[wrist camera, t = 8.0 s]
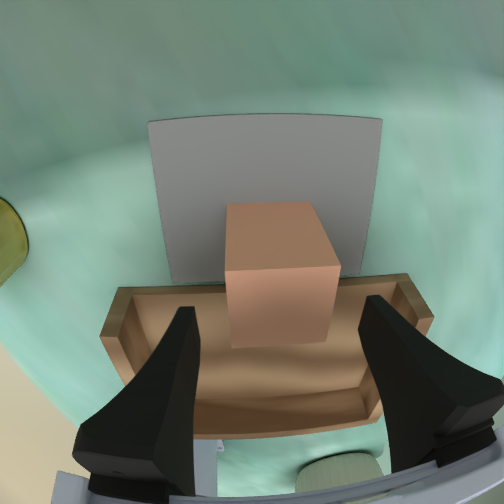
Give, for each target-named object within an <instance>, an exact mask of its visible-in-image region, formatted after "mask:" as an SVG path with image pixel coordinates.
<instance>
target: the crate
mask: <svg viewBox="0 0 504 504" xmlns="http://www.w3.org/2000/svg"><path fill="white" fill-rule="evenodd" d="M369 295H380V296H382V297H383V298H384V299H385V300H386V301H387V302H388V303H389V304H390V305H391V306H392V307H393V308H394V309H395V310H396V311H397V312H399V313H400V314H401V315H402V316H403V317H404V318H405V319H406V320H407V321H408V322H409V323H410V324H411V325H412V326H414V327H415V328H416V329H417V330H418V331H419V332H420V333H422V334H423V335H424V336H426V334H427V332H428V330H429V328H430V326H431V323H432V321H433V319H434V315H433V314H432V312H431V310H430V309H429V307H428V305H427V304H426V302H425V301H424V299H423V297H422V296H421V294H420V293H419V291H418V290H417V288H416V287H415V285H414V283H413V282H412V280H411V279H410V277H409V276H408V274H395V275H382V276H369V277H355V278H340V279H339V281H338V286H337V291H336V297H335V302H334V307H333V312H332V317H331V322H330V327H329V331H328V336H327V341H326V342H320V343H309V344H297V345H283V346H268V347H249V348H232V347H231V337H230V326H229V315H228V304H227V293H226V285H202V286H170V287H124V288H118V290H117V292H116V295H115V297H114V300H113V302H112V305H111V307H110V310H109V312H108V315H107V318H106V320H105V323H104V326H103V328H102V331H101V334H100V336H99V337H100V339H101V341H102V343H103V345H104V347H105V349H106V351H107V353H108V355H109V357H110V359H111V361H112V363H113V365H114V367H115V369H116V370H117V372H118V374H119V376H120V378H121V380H122V381H123V383H124V385H125V386H126V385H127V384H128V383H129V382H130V381H131V380H132V379H133V377H134V376H135V375H136V374H137V373H138V371H139V370H140V369H141V368H142V366H143V365H144V364H145V362H146V361H147V360H148V358H149V357H150V355H151V354H152V352H153V351H154V349H155V348H156V346H157V345H158V343H159V342H160V340H161V338H162V337H163V335H164V333H165V332H166V330H167V328H168V326H169V324H170V323H171V321H172V319H173V317H174V315H175V313H176V311H177V309H178V308H179V307H180V306H195V312H196V317H197V323H198V328H199V333H200V339H201V352H200V367H199V375H198V382H197V389H196V397H195V405H194V421H193V439H197V440H229V439H255V438H271V437H283V436H294V435H303V434H311V433H319V432H326V431H333V430H339V429H345V428H351V427H356V426H362V425H367V424H372V423H376V422H377V421H378V420H379V418H380V416H381V415H382V413H383V407H382V403H381V399H380V395H379V392H378V389H377V386H376V384H375V381H374V378H373V376H372V373H371V370H370V368H369V365H368V363H367V360H366V357H365V355H364V352H363V349H362V345H361V341H360V337H359V333H358V326H359V322H360V319H361V315H362V312H363V308H364V304H365V300H366V297H367V296H369Z"/></svg>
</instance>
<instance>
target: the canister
mask: <svg viewBox="0 0 504 504" xmlns="http://www.w3.org/2000/svg"><path fill="white" fill-rule="evenodd" d="M382 476H384V475H383V473H382V471H381V468H380V466H379V464H378V463H377V461H376V460H375V459H374V458H373V457H372V456H371V455H369V454H365V453H348V454H342V455H337V456H333V457H329V458H325V459H322V460H319V461H317V462H314V463H312V464H309V465H308V466H306V467H305V468H303V469H302V470H301V471H300V472H299V474H298V476H297V479H296V485H295V493H299V492H307V491H314V490H321V489H327V488H332V487H338V486H343V485H348V484H353V483H357V482H362V481H366V480H370V479H374V478H378V477H382ZM389 493H390V492H389ZM386 494H387V493H385V494H382V495H378V496H374V497H370V498H366V499H362V500H358V501H353V502H349V503H344V504H358V503H362V502H366V501H370V500H374V499H378V498H382V497H385V496H386Z"/></svg>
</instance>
